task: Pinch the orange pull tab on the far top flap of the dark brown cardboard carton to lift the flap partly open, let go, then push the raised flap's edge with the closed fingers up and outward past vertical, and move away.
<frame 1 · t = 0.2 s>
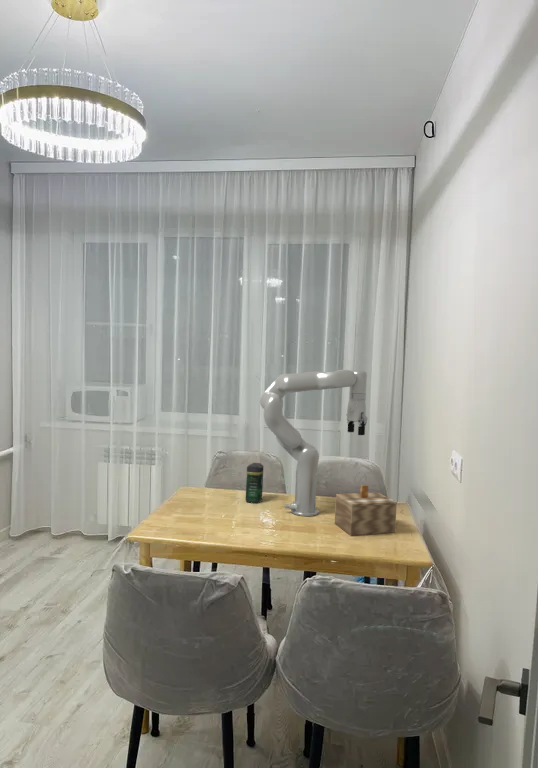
hand: (355, 433, 244), 36 cm above the table, tool pointing down, fingers open, 9 cm apart
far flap: (361, 490, 223), point 15 cm above the table, hinge at 0.0°
coffee jar: (254, 501, 257), on the table
carton: (364, 528, 220), on the table
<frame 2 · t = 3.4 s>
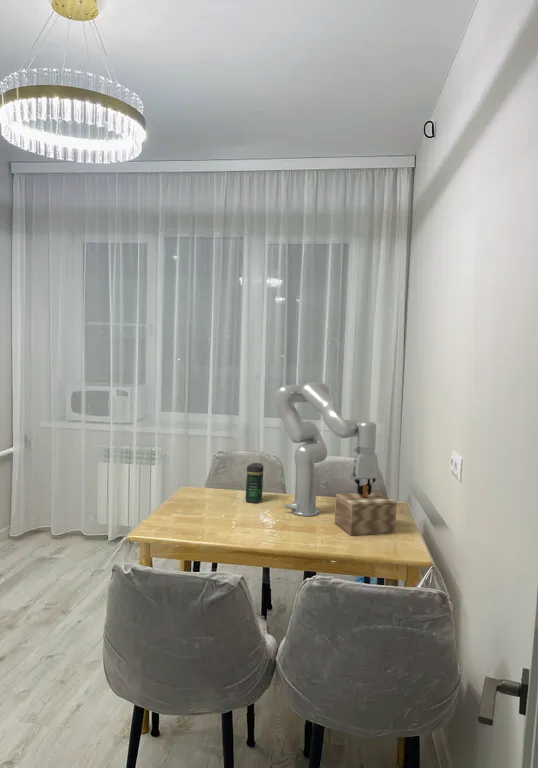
hand: (364, 493, 220), 14 cm above the table, tool pointing down, fingers closed on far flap, 3 cm apart
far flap: (361, 490, 223), point 15 cm above the table, hinge at 0.0°, touching gripper
everything else where it was.
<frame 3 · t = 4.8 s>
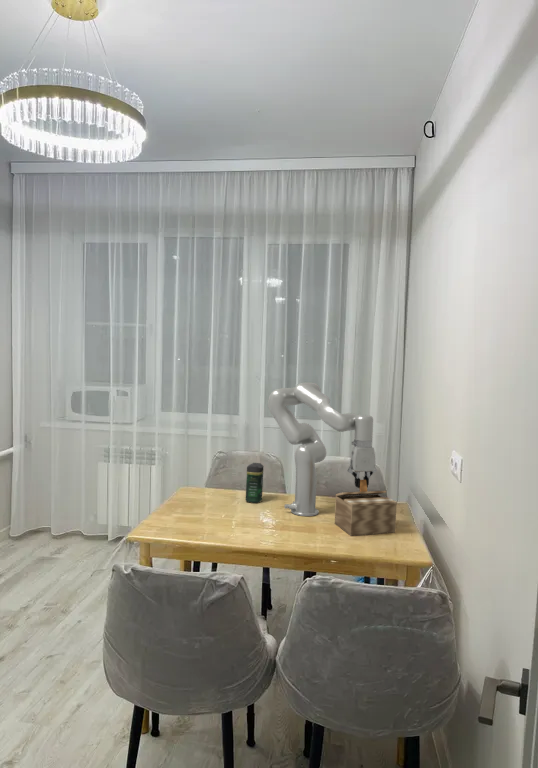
hand: (361, 486, 223), 17 cm above the table, tool pointing down, fingers closed on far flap, 3 cm apart
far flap: (360, 487, 224), point 16 cm above the table, hinge at 19.4°, touching gripper
everything else where it was.
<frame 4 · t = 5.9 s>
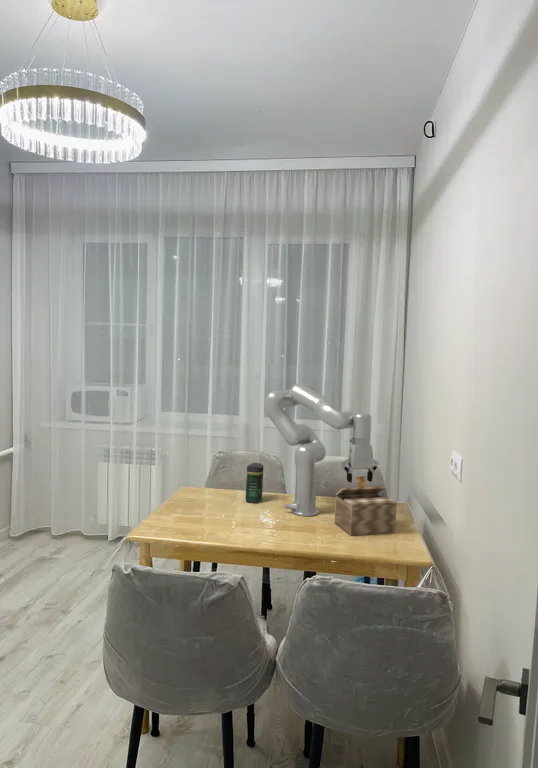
hand: (359, 481, 225), 18 cm above the table, tool pointing down, fingers open, 9 cm apart
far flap: (359, 485, 225), point 17 cm above the table, hinge at 33.2°
everything else where it was.
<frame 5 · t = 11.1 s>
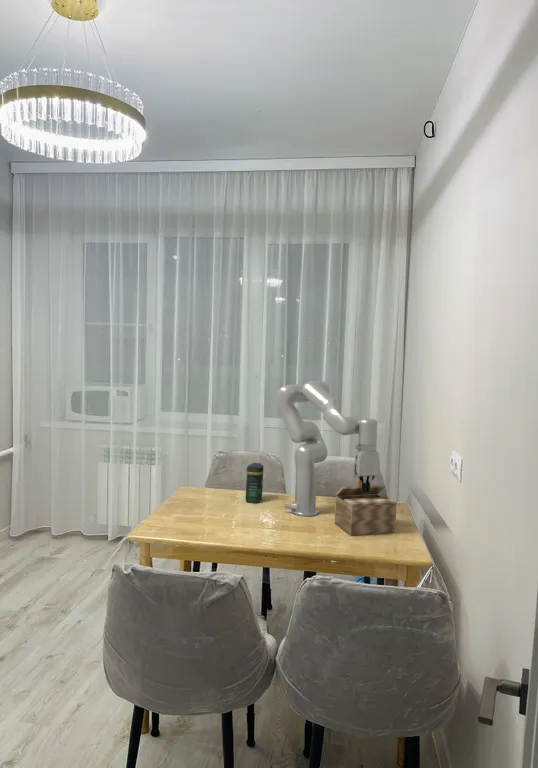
hand: (365, 491, 219), 16 cm above the table, tool pointing down, fingers closed
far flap: (359, 485, 225), point 17 cm above the table, hinge at 36.3°, touching gripper
everything else where it was.
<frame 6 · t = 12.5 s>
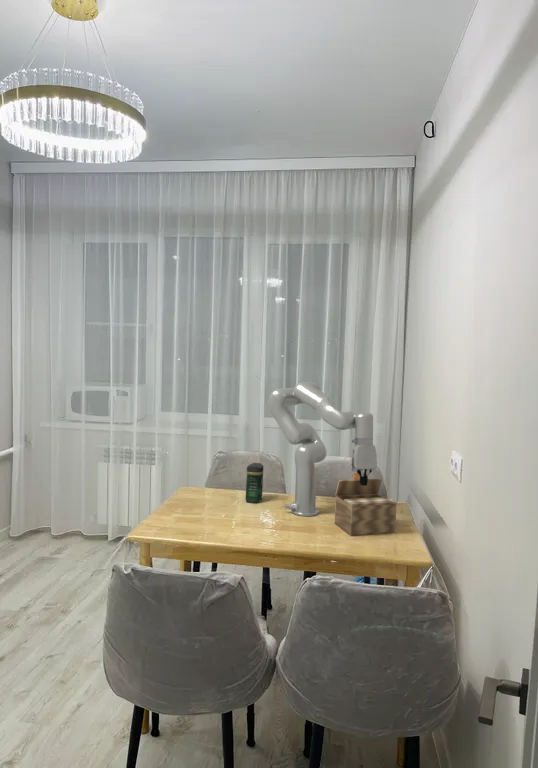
hand: (363, 484, 222), 18 cm above the table, tool pointing down, fingers closed
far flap: (356, 483, 228), point 17 cm above the table, hinge at 65.8°, touching gripper
everything else where it was.
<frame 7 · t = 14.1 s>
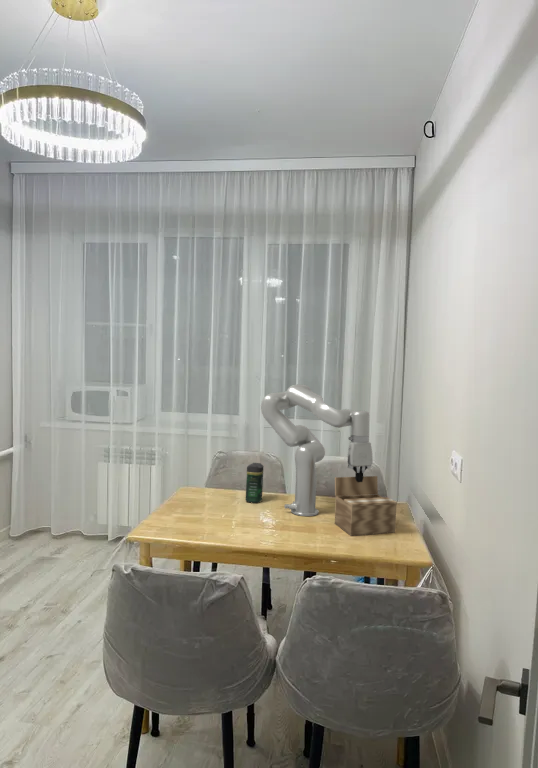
hand: (359, 481, 226), 18 cm above the table, tool pointing down, fingers closed
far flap: (353, 485, 230), point 16 cm above the table, hinge at 97.8°, touching gripper
everything else where it was.
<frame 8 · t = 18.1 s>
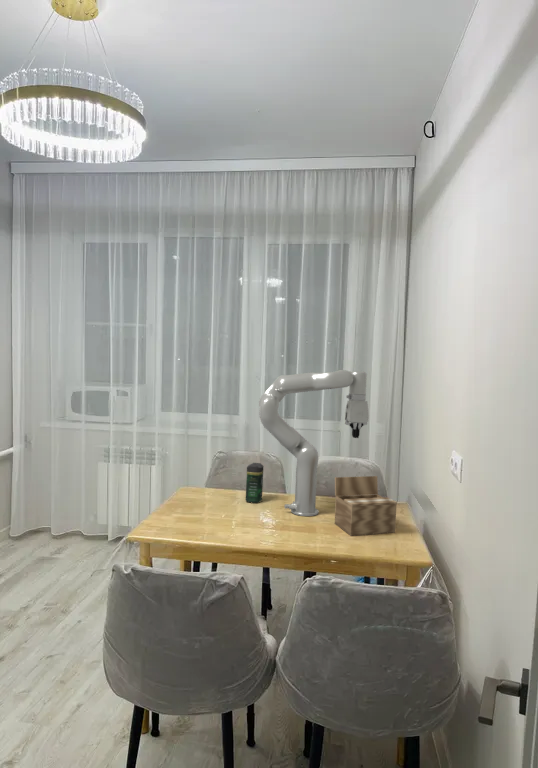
hand: (355, 437, 241), 35 cm above the table, tool pointing down, fingers closed
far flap: (353, 485, 230), point 16 cm above the table, hinge at 98.1°
everything else where it was.
at the end: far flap at +98° (first picture: +0°) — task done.
